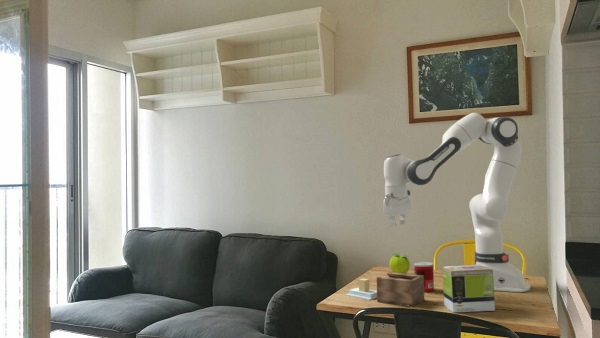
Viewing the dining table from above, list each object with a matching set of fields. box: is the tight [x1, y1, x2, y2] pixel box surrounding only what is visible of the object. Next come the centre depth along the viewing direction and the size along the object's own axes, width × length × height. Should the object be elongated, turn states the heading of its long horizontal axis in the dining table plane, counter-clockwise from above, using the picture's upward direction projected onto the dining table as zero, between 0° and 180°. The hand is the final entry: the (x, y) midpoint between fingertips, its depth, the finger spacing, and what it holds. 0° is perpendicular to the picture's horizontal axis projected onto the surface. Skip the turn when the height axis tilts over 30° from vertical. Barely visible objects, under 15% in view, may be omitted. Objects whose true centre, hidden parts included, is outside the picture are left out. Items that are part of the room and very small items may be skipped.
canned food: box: [413, 261, 435, 293], centre depth 203 cm, size 8×8×11 cm
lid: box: [345, 278, 377, 301], centre depth 196 cm, size 12×9×7 cm
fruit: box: [389, 253, 411, 274], centre depth 236 cm, size 9×9×10 cm
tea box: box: [442, 264, 496, 313], centre depth 174 cm, size 15×10×15 cm, turn 92°
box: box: [376, 271, 425, 307], centre depth 187 cm, size 14×12×9 cm
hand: (398, 225), depth 206 cm, fingers open, 8 cm apart
